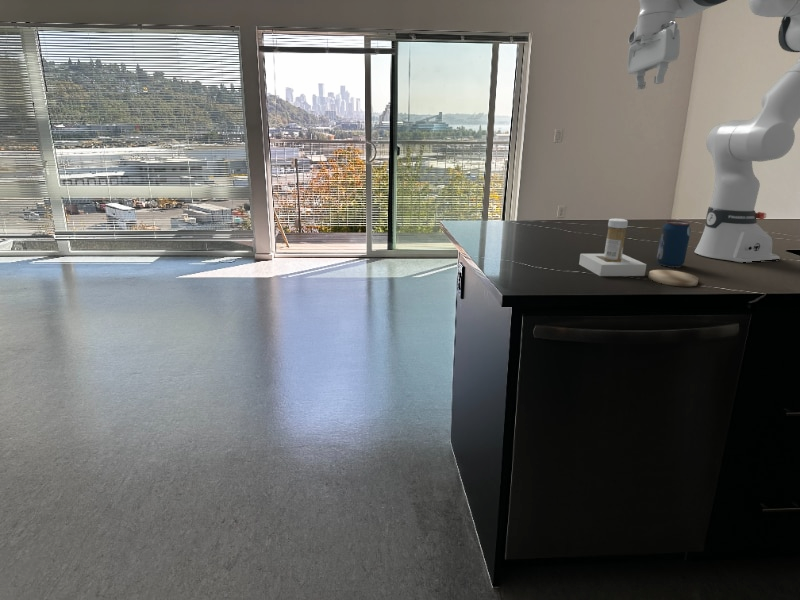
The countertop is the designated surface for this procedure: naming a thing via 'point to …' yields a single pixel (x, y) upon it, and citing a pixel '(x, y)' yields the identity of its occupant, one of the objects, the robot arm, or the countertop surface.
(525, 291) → the countertop surface
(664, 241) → the soda can
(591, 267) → the collar
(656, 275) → the disc
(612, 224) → the sprinkles bottle
